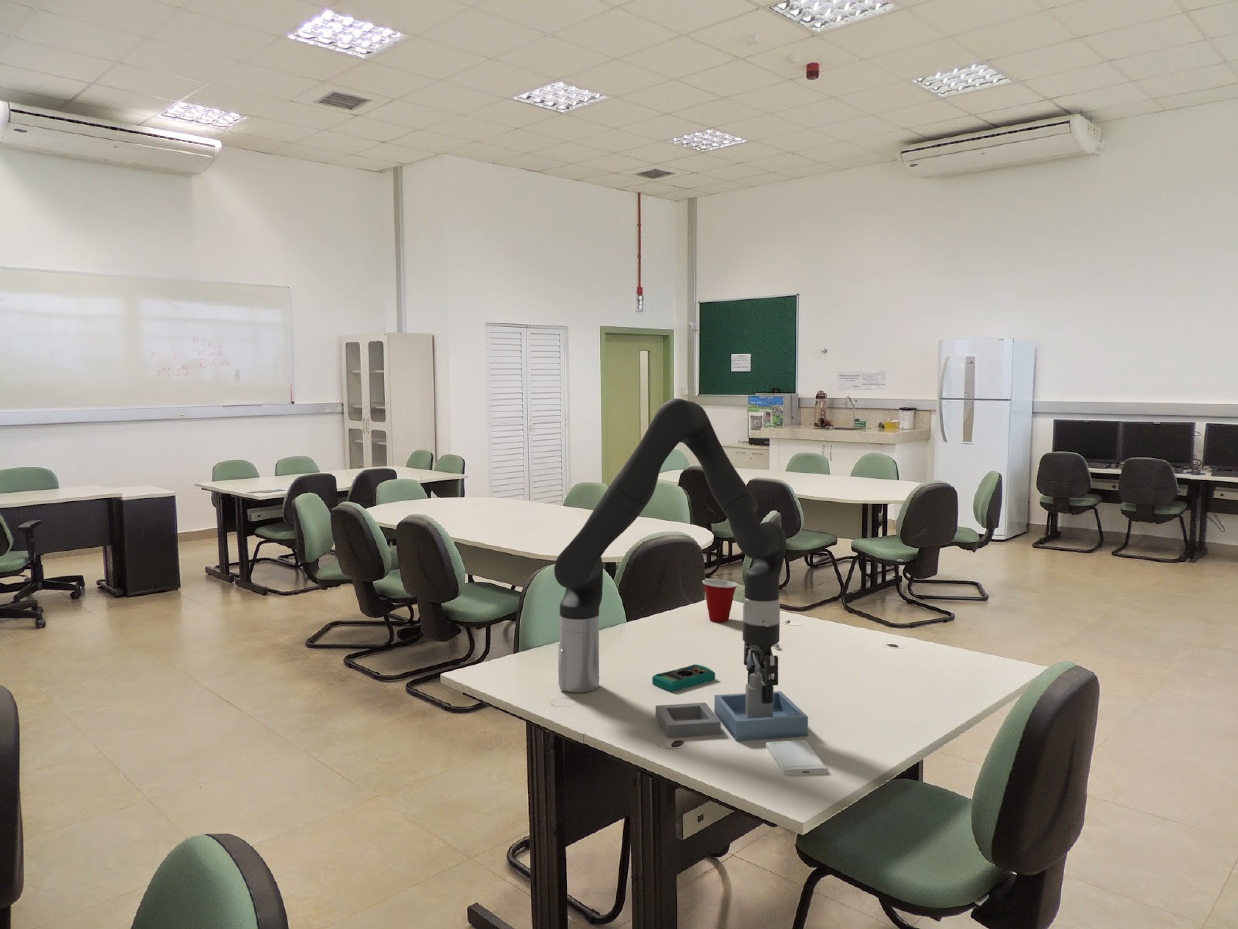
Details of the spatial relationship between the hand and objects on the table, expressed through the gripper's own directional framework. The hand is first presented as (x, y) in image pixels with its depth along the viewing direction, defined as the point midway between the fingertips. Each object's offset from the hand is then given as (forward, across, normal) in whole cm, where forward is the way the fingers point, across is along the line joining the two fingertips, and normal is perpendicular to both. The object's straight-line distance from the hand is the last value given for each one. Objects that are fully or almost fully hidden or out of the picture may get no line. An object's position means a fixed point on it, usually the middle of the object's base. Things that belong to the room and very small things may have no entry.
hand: (759, 695), depth 176 cm
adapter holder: (+6, -2, -15) cm, 16 cm away
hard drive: (+7, +18, +1) cm, 19 cm away
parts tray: (+6, 0, 0) cm, 6 cm away
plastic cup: (+6, -81, +16) cm, 83 cm away
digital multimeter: (+7, -28, -9) cm, 30 cm away
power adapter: (+5, 0, 0) cm, 5 cm away
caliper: (+7, -59, +22) cm, 63 cm away
